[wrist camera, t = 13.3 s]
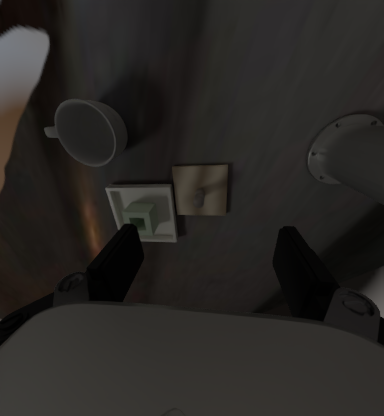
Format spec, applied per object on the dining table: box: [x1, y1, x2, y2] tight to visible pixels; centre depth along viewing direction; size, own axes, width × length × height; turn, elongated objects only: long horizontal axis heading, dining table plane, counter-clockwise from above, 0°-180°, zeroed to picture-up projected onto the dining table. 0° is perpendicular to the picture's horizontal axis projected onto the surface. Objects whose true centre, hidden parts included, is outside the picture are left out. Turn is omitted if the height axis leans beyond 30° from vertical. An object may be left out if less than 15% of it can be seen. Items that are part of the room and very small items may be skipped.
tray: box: [105, 184, 178, 242], centre depth 44 cm, size 16×16×2 cm
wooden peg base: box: [172, 165, 228, 215], centre depth 37 cm, size 12×12×6 cm
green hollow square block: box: [122, 202, 159, 236], centre depth 42 cm, size 6×6×5 cm
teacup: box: [45, 99, 128, 167], centre depth 33 cm, size 14×11×8 cm
